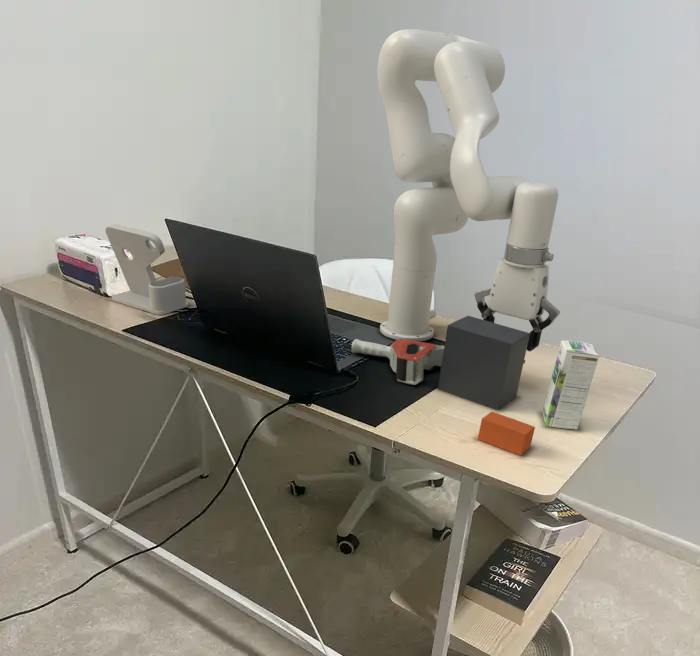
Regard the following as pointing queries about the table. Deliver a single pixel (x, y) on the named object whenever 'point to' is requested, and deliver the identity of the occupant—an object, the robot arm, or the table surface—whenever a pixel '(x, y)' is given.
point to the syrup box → (570, 384)
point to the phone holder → (144, 272)
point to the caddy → (483, 361)
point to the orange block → (506, 433)
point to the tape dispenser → (404, 357)
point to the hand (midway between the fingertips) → (508, 343)
